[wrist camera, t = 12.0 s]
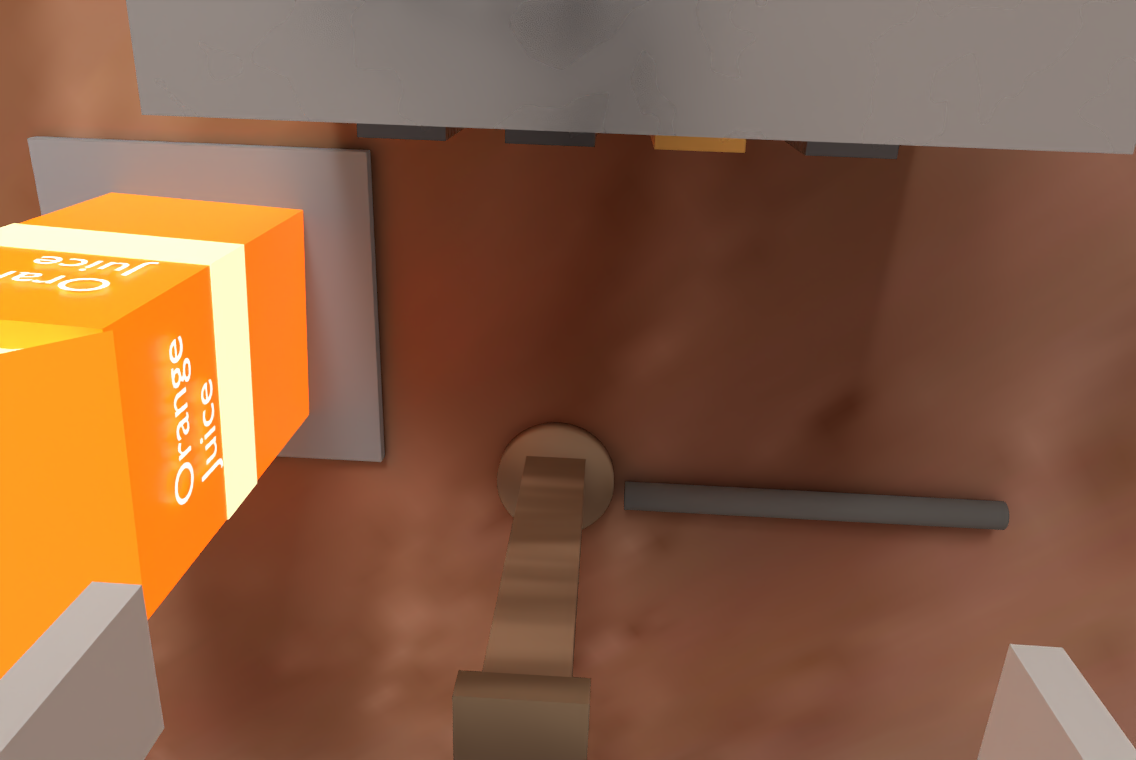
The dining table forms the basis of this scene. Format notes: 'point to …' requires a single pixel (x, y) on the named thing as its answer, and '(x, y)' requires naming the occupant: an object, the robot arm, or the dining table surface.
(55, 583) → the orange juice
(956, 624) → the dining table surface
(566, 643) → the cable post
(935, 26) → the box
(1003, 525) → the dark gray rod
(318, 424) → the felt mat
